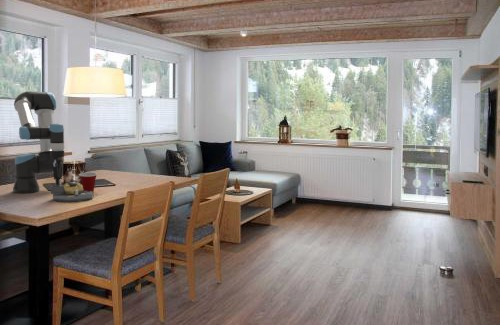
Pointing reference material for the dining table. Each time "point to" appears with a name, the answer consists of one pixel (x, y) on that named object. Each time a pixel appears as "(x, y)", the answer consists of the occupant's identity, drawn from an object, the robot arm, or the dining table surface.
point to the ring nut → (67, 188)
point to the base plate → (73, 196)
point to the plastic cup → (88, 180)
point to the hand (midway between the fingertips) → (58, 190)
